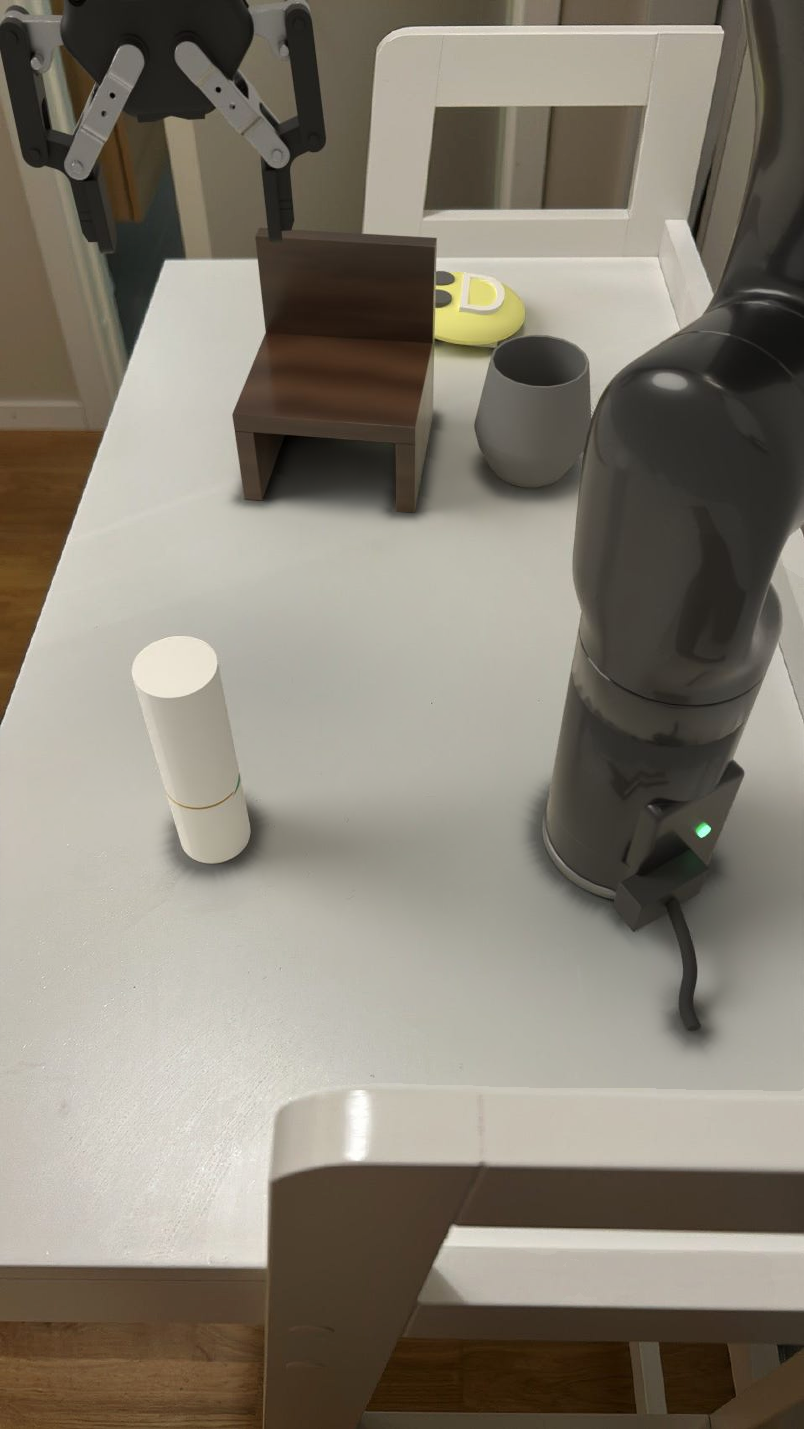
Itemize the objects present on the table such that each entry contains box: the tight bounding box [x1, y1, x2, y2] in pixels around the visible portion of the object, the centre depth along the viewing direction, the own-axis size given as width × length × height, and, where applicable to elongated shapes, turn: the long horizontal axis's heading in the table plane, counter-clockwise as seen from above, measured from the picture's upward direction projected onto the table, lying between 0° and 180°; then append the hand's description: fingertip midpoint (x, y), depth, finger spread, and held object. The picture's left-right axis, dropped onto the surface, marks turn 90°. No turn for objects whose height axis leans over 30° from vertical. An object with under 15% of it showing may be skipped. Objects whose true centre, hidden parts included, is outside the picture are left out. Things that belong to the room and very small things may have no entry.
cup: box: [473, 334, 592, 489], centre depth 84 cm, size 10×9×10 cm
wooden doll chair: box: [231, 227, 438, 513], centre depth 83 cm, size 14×14×16 cm
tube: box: [131, 635, 252, 864], centre depth 58 cm, size 4×4×15 cm
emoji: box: [435, 270, 526, 349], centre depth 101 cm, size 4×12×12 cm
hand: (193, 242), depth 54 cm, fingers open, 8 cm apart
